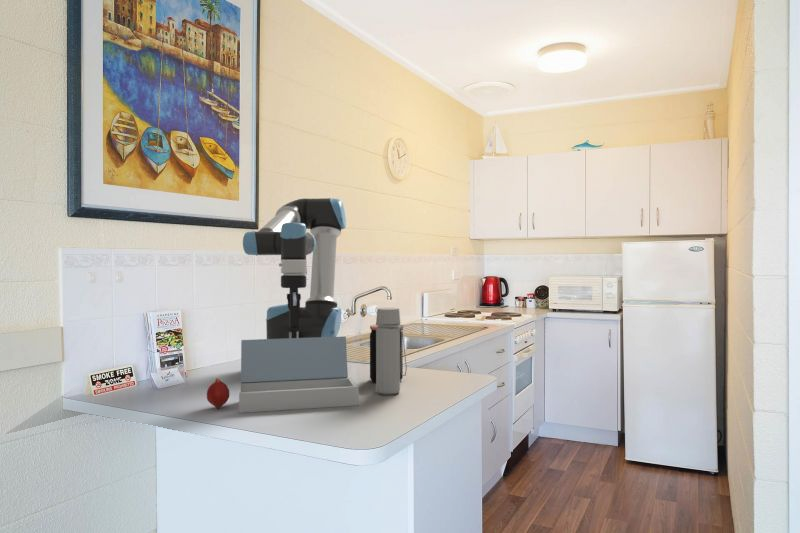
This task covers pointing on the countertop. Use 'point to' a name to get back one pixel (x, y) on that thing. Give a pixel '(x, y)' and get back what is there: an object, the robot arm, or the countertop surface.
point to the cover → (293, 359)
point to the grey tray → (298, 394)
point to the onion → (218, 393)
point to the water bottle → (388, 351)
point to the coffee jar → (373, 353)
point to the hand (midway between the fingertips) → (293, 353)
